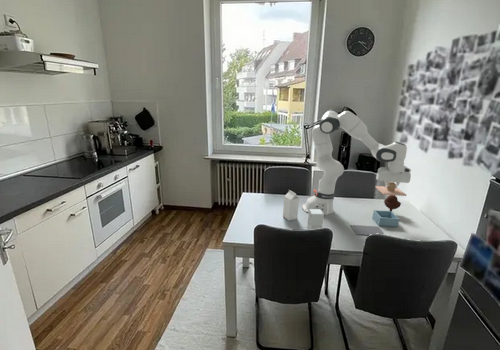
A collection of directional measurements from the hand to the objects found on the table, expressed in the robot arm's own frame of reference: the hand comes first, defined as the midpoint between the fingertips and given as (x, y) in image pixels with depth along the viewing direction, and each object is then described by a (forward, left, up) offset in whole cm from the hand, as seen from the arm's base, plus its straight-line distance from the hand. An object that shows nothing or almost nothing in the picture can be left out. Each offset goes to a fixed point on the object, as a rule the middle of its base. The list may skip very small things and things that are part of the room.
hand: (390, 188), depth 180 cm
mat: (-15, -14, -25) cm, 32 cm away
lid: (0, 0, -2) cm, 2 cm away
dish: (+1, 0, -25) cm, 25 cm away
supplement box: (-49, -17, -25) cm, 58 cm away
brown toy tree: (+11, +15, -25) cm, 31 cm away
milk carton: (-63, -2, -25) cm, 68 cm away
